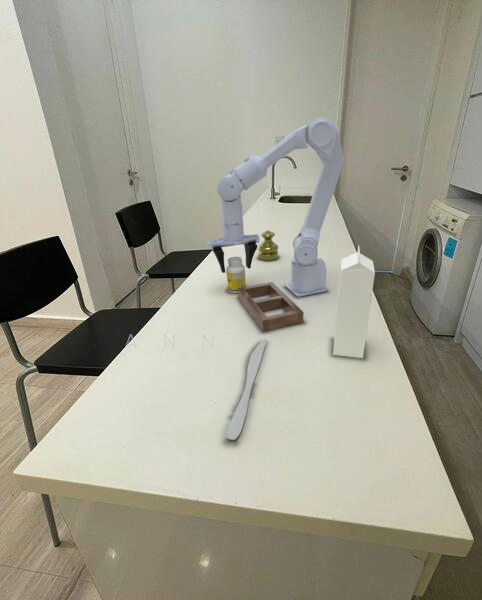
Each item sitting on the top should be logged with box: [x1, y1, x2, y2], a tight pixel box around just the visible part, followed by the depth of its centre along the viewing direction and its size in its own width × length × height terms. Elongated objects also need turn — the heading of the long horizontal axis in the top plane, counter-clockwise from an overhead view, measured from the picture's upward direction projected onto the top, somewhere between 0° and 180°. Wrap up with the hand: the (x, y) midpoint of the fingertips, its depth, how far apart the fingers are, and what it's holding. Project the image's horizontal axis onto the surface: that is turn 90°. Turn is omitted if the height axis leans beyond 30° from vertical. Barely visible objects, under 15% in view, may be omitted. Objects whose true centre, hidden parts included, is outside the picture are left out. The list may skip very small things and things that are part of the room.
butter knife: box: [226, 340, 267, 441], centre depth 62 cm, size 1×27×3 cm
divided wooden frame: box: [237, 281, 304, 332], centre depth 86 cm, size 10×20×3 cm, turn 20°
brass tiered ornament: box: [257, 230, 279, 262], centre depth 120 cm, size 7×7×10 cm
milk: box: [332, 244, 376, 359], centre depth 65 cm, size 6×6×22 cm
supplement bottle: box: [225, 256, 247, 294], centre depth 96 cm, size 5×5×10 cm
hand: (235, 269), depth 96 cm, fingers open, 7 cm apart
